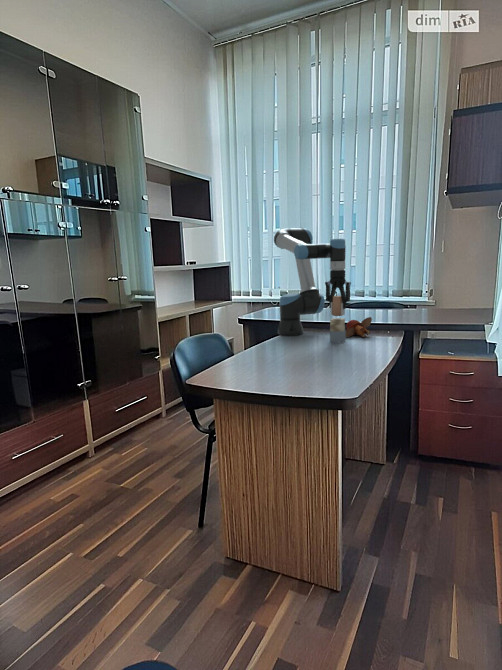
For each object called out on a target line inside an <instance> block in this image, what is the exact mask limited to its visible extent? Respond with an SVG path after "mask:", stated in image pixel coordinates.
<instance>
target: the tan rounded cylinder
mask: <svg viewBox="0 0 502 670" xmlns="http://www.w3.org/2000/svg"><path fill="white" fill-rule="evenodd" d="M341 303H342V298H341V295H334V296H333V315H332V316H334V317H343V316H342V315H341Z"/></svg>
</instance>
